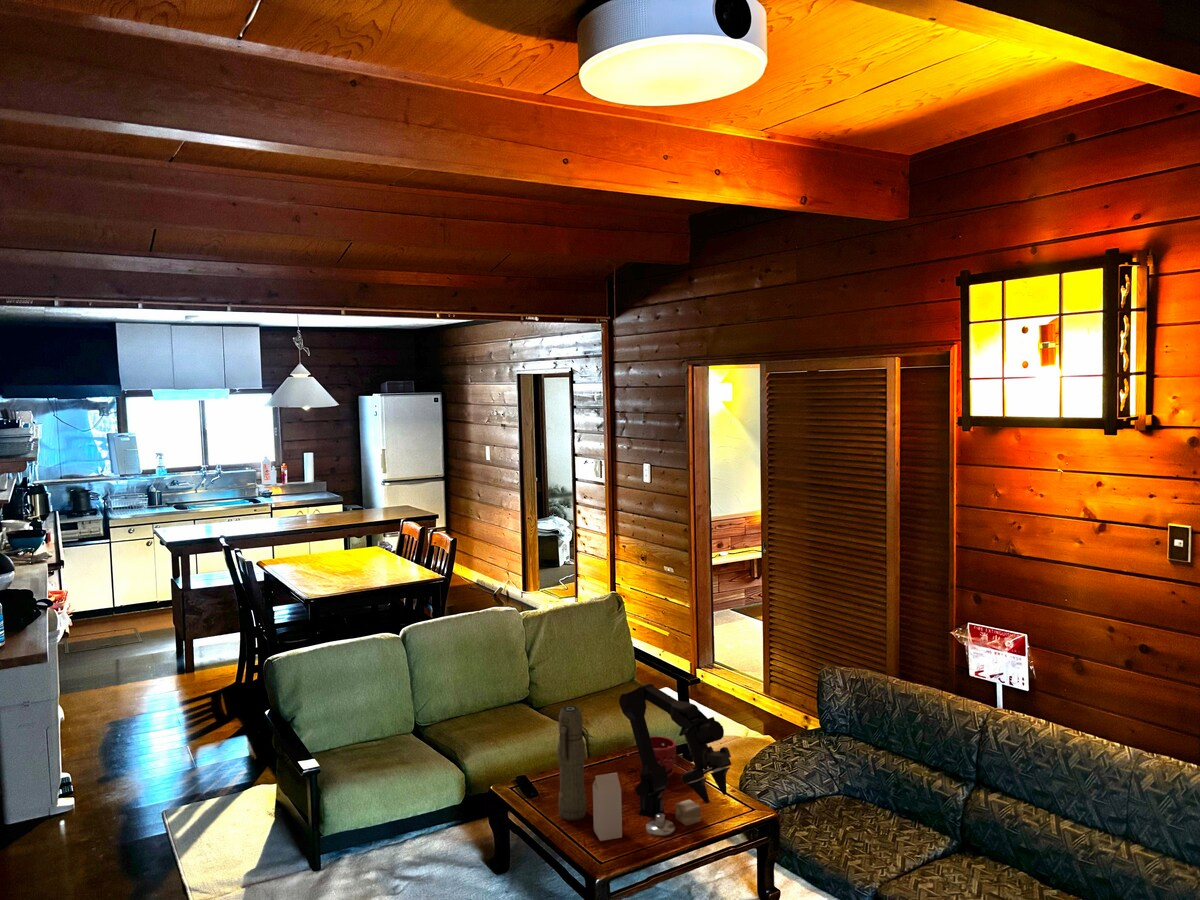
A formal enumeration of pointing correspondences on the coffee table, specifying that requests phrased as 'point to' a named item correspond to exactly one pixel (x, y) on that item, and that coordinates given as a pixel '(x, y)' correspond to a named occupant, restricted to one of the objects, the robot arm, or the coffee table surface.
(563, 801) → the thermos
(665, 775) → the robot arm
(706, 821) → the coffee table surface
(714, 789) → the coffee table surface
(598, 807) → the milk carton
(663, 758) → the plant pot
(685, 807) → the beige wooden cube
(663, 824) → the post stand
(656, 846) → the coffee table surface
